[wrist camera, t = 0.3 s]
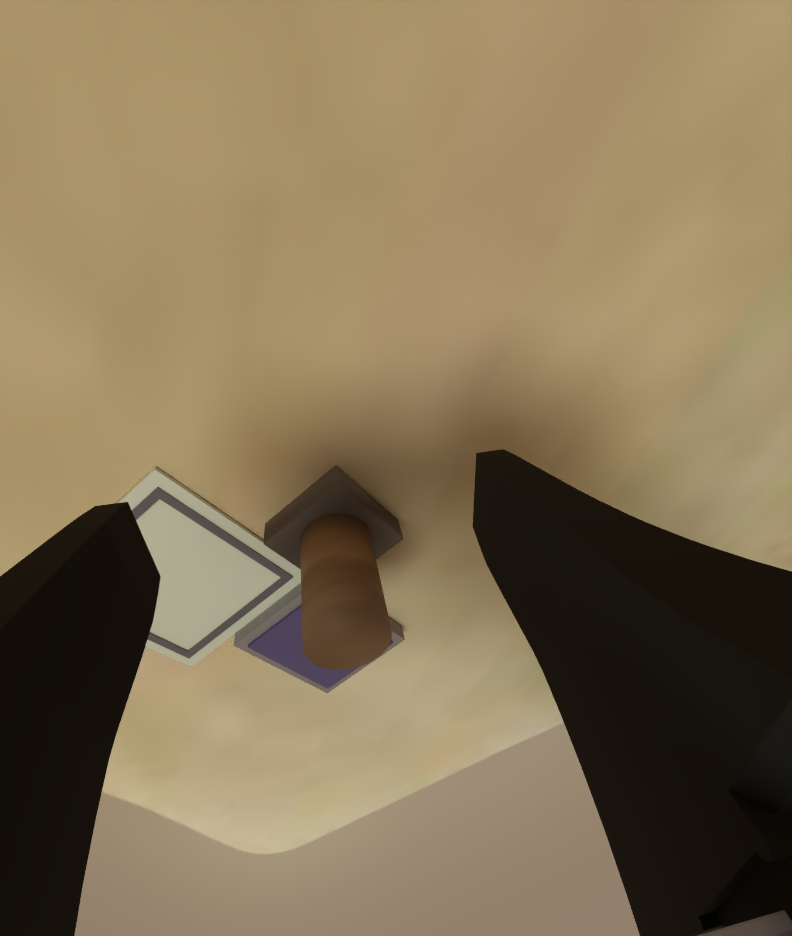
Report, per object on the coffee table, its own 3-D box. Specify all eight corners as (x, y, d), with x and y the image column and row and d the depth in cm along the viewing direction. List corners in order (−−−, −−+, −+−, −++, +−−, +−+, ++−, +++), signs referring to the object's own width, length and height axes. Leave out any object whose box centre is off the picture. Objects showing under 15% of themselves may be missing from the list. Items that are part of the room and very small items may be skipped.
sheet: (310, 572, 24) (310, 576, 24) (191, 663, 26) (190, 668, 26) (155, 466, 19) (154, 470, 19) (25, 587, 21) (22, 592, 21)
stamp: (397, 519, 23) (433, 633, 17) (331, 570, 24) (343, 695, 18) (336, 464, 21) (353, 576, 15) (265, 523, 22) (255, 649, 16)
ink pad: (401, 625, 27) (405, 642, 26) (326, 678, 29) (327, 696, 28) (317, 566, 24) (318, 583, 23) (235, 629, 25) (233, 648, 24)
